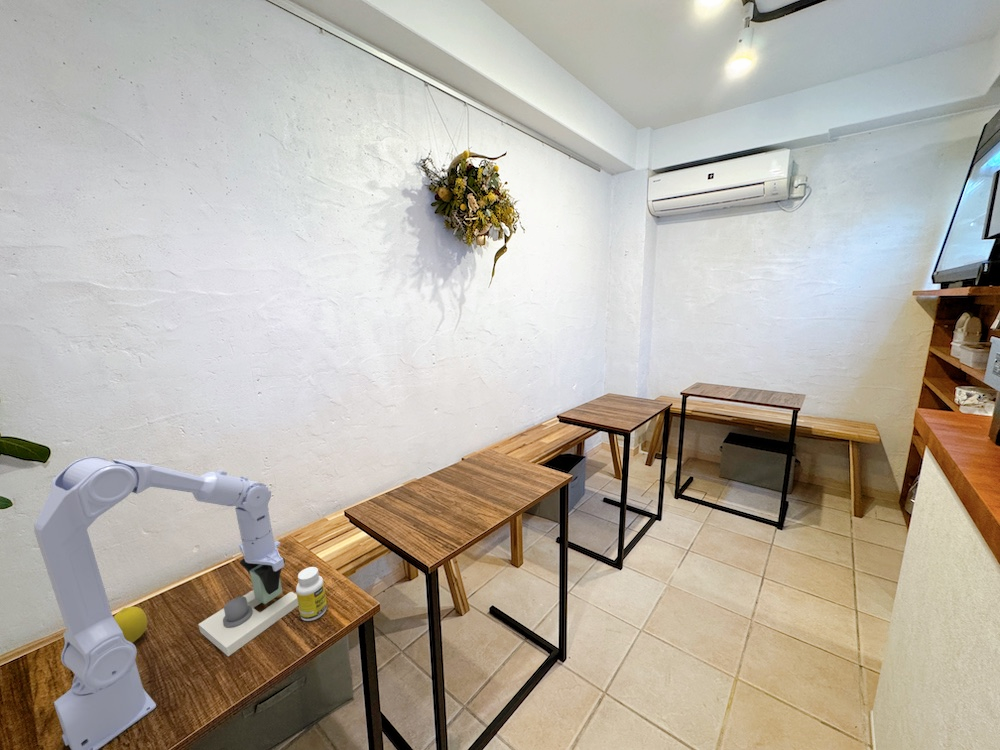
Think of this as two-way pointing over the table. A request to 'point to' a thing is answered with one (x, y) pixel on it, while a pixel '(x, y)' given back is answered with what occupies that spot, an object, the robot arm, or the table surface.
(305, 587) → the supplement bottle
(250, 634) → the notched board
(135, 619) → the lemon
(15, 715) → the table surface
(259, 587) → the block
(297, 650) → the table surface
